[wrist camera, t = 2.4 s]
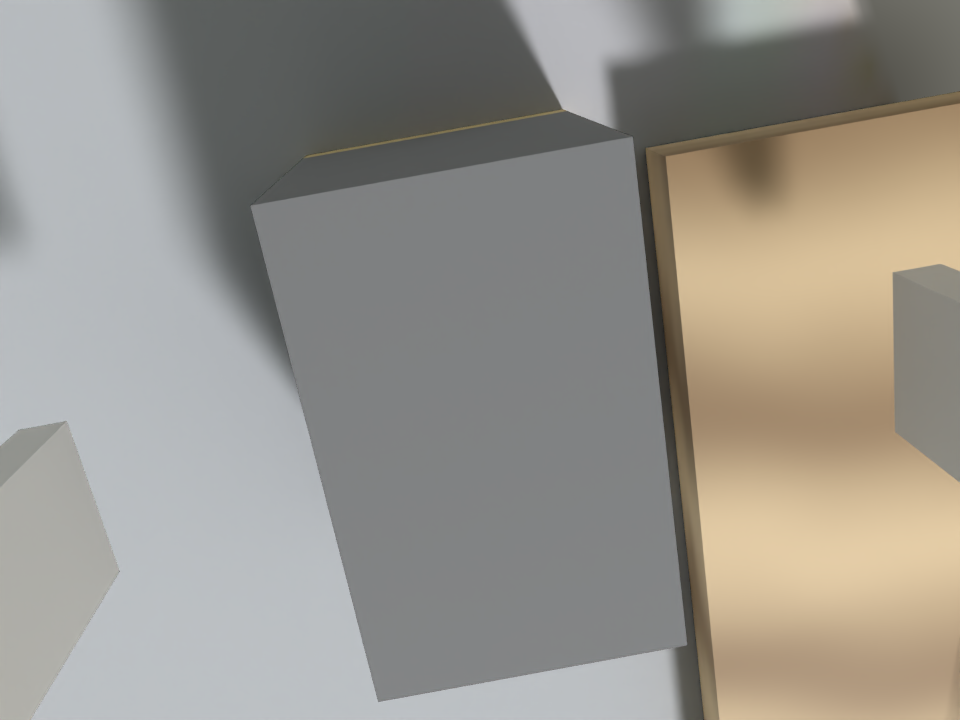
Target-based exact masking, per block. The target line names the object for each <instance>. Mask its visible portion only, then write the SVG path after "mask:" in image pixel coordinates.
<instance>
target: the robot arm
mask: <svg viewBox="0 0 960 720" xmlns="http://www.w3.org/2000/svg"><path fill="white" fill-rule="evenodd" d="M892 274H893V340H894V405H895V432H896V433H897V434H898V435H900V436H901V437H902V438H904V439H905V440H906V441H907V442H909V443H910V444H911V445H913V446H914V447H915V448H916V449H918V450H919V451H920V452H921V453H923V454H924V455H925V456H927V457H928V458H929V459H930V460H932V461H933V462H934V463H935V464H937V465H938V466H939V467H941V468H942V469H943V470H944V471H946V472H947V473H948V474H949V475H951V476H952V477H953V478H955V479H956V480H957V481H958V482H960V271H958V270H955V269H953V268H950V267H948V266H945V265H943V264H936V265H931V266H925V267H920V268H914V269H909V270H903V271H897V272H892ZM119 572H120V571H119V568H118V565H117V562H116V559H115V556H114V554H113V551H112V548H111V545H110V542H109V539H108V537H107V534H106V531H105V528H104V525H103V522H102V520H101V517H100V514H99V511H98V508H97V505H96V502H95V500H94V497H93V494H92V491H91V488H90V485H89V483H88V480H87V477H86V474H85V471H84V468H83V466H82V463H81V460H80V457H79V454H78V451H77V449H76V446H75V443H74V440H73V437H72V434H71V432H70V429H69V426H68V423H67V421H65V422H59V423H54V424H48V425H43V426H37V427H31V428H26V429H20V430H18V431H17V432H16V433H15V434H13V435H12V436H11V437H10V438H9V439H8V440H7V441H6V442H5V443H3V444H2V445H1V446H0V720H31V718H32V717H33V715H34V713H35V712H36V710H37V708H38V707H39V705H40V703H41V702H42V700H43V698H44V697H45V695H46V693H47V692H48V690H49V688H50V687H51V685H52V683H53V682H54V680H55V678H56V677H57V675H58V673H59V672H60V670H61V668H62V667H63V665H64V663H65V662H66V660H67V658H68V657H69V655H70V653H71V652H72V650H73V648H74V647H75V645H76V643H77V642H78V640H79V639H80V637H81V635H82V634H83V632H84V630H85V629H86V627H87V625H88V624H89V622H90V620H91V619H92V617H93V615H94V614H95V612H96V610H97V609H98V607H99V605H100V604H101V602H102V600H103V599H104V597H105V595H106V594H107V592H108V590H109V589H110V587H111V585H112V584H113V582H114V580H115V579H116V577H117V575H118V574H119Z"/></svg>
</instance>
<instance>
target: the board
mask: <svg viewBox="0 0 960 720" xmlns="http://www.w3.org/2000/svg"><path fill="white" fill-rule="evenodd" d="M645 149H646V159H647V168H648V178H649V188H650V198H651V207H652V217H653V227H654V236H655V246H656V256H657V266H658V275H659V285H660V295H661V305H662V314H663V324H664V334H665V343H666V353H667V363H668V373H669V382H670V392H671V402H672V412H673V421H674V431H675V441H676V450H677V460H678V470H679V480H680V489H681V499H682V509H683V519H684V528H685V538H686V548H687V558H688V567H689V577H690V587H691V596H692V606H693V616H694V626H695V635H696V645H697V655H698V665H699V674H700V684H701V694H702V703H703V713H704V720H960V482H958V481H957V480H956V479H955V478H953V477H952V476H951V475H949V474H948V473H947V472H946V471H944V470H943V469H942V468H941V467H939V466H938V465H937V464H935V463H934V462H933V461H932V460H930V459H929V458H928V457H927V456H925V455H924V454H923V453H921V452H920V451H919V450H918V449H916V448H915V447H914V446H913V445H911V444H910V443H909V442H907V441H906V440H905V439H904V438H902V437H901V436H900V435H898V434H897V433H896V432H895V405H894V340H893V274H892V272H897V271H903V270H909V269H914V268H920V267H925V266H931V265H936V264H943V265H945V266H948V267H950V268H953V269H955V270H958V271H960V91H959V92H953V93H948V94H942V95H937V96H931V97H926V98H920V99H915V100H909V101H904V102H898V103H892V104H887V105H881V106H876V107H870V108H865V109H859V110H854V111H848V112H842V113H837V114H831V115H826V116H820V117H815V118H809V119H804V120H798V121H793V122H787V123H782V124H776V125H770V126H765V127H759V128H754V129H748V130H743V131H737V132H732V133H726V134H721V135H715V136H710V137H704V138H698V139H693V140H687V141H682V142H676V143H671V144H665V145H660V146H654V147H649V148H645Z"/></svg>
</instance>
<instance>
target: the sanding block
mask: <svg viewBox="0 0 960 720" xmlns="http://www.w3.org/2000/svg"><path fill="white" fill-rule="evenodd" d="M251 210H252V214H253V218H254V222H255V226H256V230H257V234H258V237H259V241H260V245H261V249H262V253H263V257H264V261H265V265H266V269H267V272H268V276H269V280H270V284H271V288H272V292H273V296H274V300H275V303H276V307H277V311H278V315H279V319H280V323H281V327H282V331H283V334H284V338H285V342H286V346H287V350H288V354H289V358H290V362H291V366H292V369H293V373H294V377H295V381H296V385H297V389H298V393H299V397H300V400H301V404H302V408H303V412H304V416H305V420H306V424H307V428H308V431H309V435H310V439H311V443H312V447H313V451H314V455H315V459H316V462H317V466H318V470H319V474H320V478H321V482H322V486H323V490H324V494H325V497H326V501H327V505H328V509H329V513H330V517H331V521H332V525H333V528H334V532H335V536H336V540H337V544H338V548H339V552H340V556H341V559H342V563H343V567H344V571H345V575H346V579H347V583H348V587H349V590H350V594H351V598H352V602H353V606H354V610H355V614H356V618H357V622H358V625H359V629H360V633H361V637H362V641H363V645H364V649H365V653H366V656H367V660H368V664H369V668H370V672H371V676H372V680H373V684H374V687H375V691H376V695H377V699H378V702H381V701H386V700H391V699H397V698H402V697H408V696H413V695H419V694H424V693H430V692H435V691H441V690H446V689H451V688H457V687H462V686H468V685H473V684H479V683H484V682H490V681H495V680H501V679H506V678H511V677H517V676H522V675H528V674H533V673H539V672H544V671H550V670H555V669H561V668H566V667H572V666H577V665H582V664H588V663H593V662H599V661H604V660H610V659H615V658H621V657H626V656H632V655H637V654H642V653H648V652H653V651H659V650H664V649H670V648H675V647H681V646H686V645H687V638H686V629H685V619H684V610H683V601H682V591H681V582H680V573H679V563H678V554H677V545H676V535H675V526H674V517H673V507H672V498H671V489H670V479H669V470H668V461H667V451H666V442H665V433H664V423H663V414H662V405H661V395H660V386H659V377H658V367H657V358H656V349H655V339H654V330H653V321H652V311H651V302H650V293H649V283H648V274H647V265H646V255H645V246H644V237H643V227H642V218H641V209H640V199H639V190H638V181H637V171H636V162H635V153H634V143H633V137H632V136H630V135H627V134H625V133H622V132H619V131H617V130H614V129H612V128H609V127H607V126H604V125H601V124H599V123H596V122H594V121H591V120H589V119H586V118H584V117H581V116H578V115H576V114H573V113H571V112H568V111H566V110H563V109H562V110H556V111H551V112H545V113H540V114H534V115H529V116H523V117H518V118H512V119H507V120H501V121H495V122H490V123H484V124H479V125H473V126H468V127H462V128H457V129H451V130H445V131H440V132H434V133H429V134H423V135H418V136H412V137H407V138H401V139H396V140H390V141H384V142H379V143H373V144H368V145H362V146H357V147H351V148H346V149H340V150H335V151H329V152H323V153H318V154H312V155H307V156H305V157H304V158H303V159H302V160H301V161H300V162H299V163H298V164H296V165H295V166H294V167H293V168H292V169H291V170H290V171H289V172H287V173H286V174H285V175H284V176H283V177H282V178H281V179H280V180H279V181H277V182H276V183H275V184H274V185H273V186H272V187H271V188H270V189H268V190H267V191H266V192H265V193H264V194H263V195H262V196H261V197H259V198H258V199H257V200H256V201H255V202H254V203H253V204H252V205H251Z"/></svg>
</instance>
